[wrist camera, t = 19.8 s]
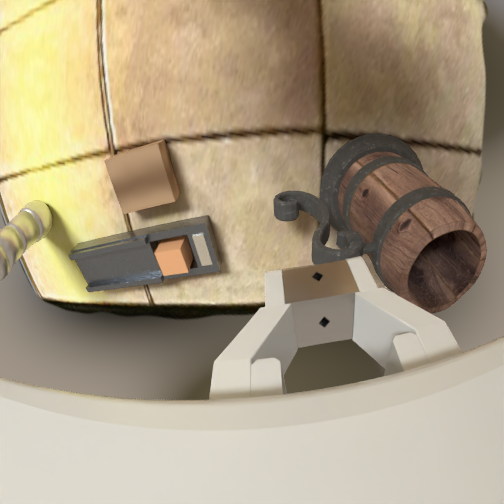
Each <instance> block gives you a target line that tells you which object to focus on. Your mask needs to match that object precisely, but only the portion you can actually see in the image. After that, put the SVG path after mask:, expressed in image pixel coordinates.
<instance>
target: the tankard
mask: <svg viewBox="0 0 504 504" xmlns="http://www.w3.org/2000/svg"><path fill="white" fill-rule="evenodd" d="M299 210H302V211H305V212H307V213H309V214H311V215H312V216H313V217H314V218H316V219H317V220H318V222H319V223H320V225H319V226H318V228H317V229H316V231H315V232H314V235H313V238H312V262H313V263H314V265H317V264H323V263H329V262H335V261H340V260H345V259H349V258H354V257H359V256H361V257H362V255H364V254H368V256H369V257H370V259H371V261H372V263H373V266H374V268H375V271H376V273H377V274H378V276H379V277H380V279H381V281H382V282H383V283H384V285H385V286H386V287H387V288H388V289H390V290H391V291H392V292H395V293H396V294H397V295H398V296H400V297H401V298H403V299H405V300H407V301H409V302H411V303H412V304H414V305H416V306H418V307H420V308H421V309H423V310H425V311H427V312H429V313H430V314H431V313H436V312H440V311H442V310H445V309H446V308H448V307H450V306H451V305H452V304H453V303H455V302H456V301H457V300H458V299H459V298H460V297H461V296H462V295H463V294H465V292H467V291H468V290H469V289H470V288H471V287H472V285H473V284H474V283H475V282H476V280H477V279H478V277H479V275H480V273H481V270H482V268H483V265H484V262H485V259H486V251H487V249H486V241H485V238H484V235H483V233H482V231H481V229H480V228H479V226H478V225H477V224H476V222H475V221H474V219H473V218H472V217H471V215H470V212H469V210H468V208H467V207H466V205H465V204H464V203H463V202H462V201H461V200H460V199H459V198H457V197H456V196H455V195H454V194H453V193H451V192H450V191H448V190H446V189H444V188H442V187H441V186H439V185H438V184H437V183H436V182H434V181H433V180H432V179H431V178H429V177H428V175H427V174H426V173H425V172H424V171H423V168H422V165H421V162H420V160H419V158H418V157H417V155H416V153H415V152H414V151H413V150H412V149H411V148H410V147H409V145H407V144H406V143H404V142H403V141H402V140H400V139H398V138H396V137H393V136H391V135H386V134H367V135H363V136H360V137H357V138H355V139H353V140H351V141H349V142H347V143H346V144H345V145H344V146H342V147H341V148H340V149H339V150H338V151H337V152H336V153H335V154H334V155H333V157H332V158H331V159H330V161H329V163H328V164H327V166H326V168H325V170H324V173H323V176H322V180H321V186H320V199H318V198H317V197H316V196H314V195H312V194H310V193H306V192H302V191H286V192H282V193H279V194H278V195H276V196H275V198H274V215H275V217H276V218H277V219H278V220H280V221H293V220H295V219H296V218H297V217H298V216H299ZM330 224H331V226H332V227H333V228H334V229H335V230H336V231H337V232H338V234H337V243H336V244H337V245H338V246H339V247H340V249H332V248H328V247H326V246H325V244H326V243H327V241H328V238H329V233H330Z"/></svg>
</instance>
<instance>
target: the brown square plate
mask: <svg viewBox="0 0 504 504" xmlns="http://www.w3.org/2000/svg"><path fill="white" fill-rule="evenodd" d="M105 164H106V167H107V170H108V173H109V176H110V179H111V181H112V184H113V187H114V190H115V193H116V196H117V198H118V201H119V204H120V206H121V209H122V212H123V214H126V213H130V212H134V211H138V210H142V209H146V208H150V207H154V206H159V205H163V204H167V203H172V202H175V201H176V200H177V198H178V197H179V195H180V191H179V187H178V184H177V181H176V177H175V174H174V171H173V167H172V164H171V160H170V157H169V153H168V149H167V146H166V142H165V139H164V140H161V141H157V142H154V143H150V144H147V145H144V146H141V147H138V148H135V149H131V150H128V151H125V152H122V153H119V154H117V155H114V156H112V157H110V158H109V159H107V160H105Z"/></svg>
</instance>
